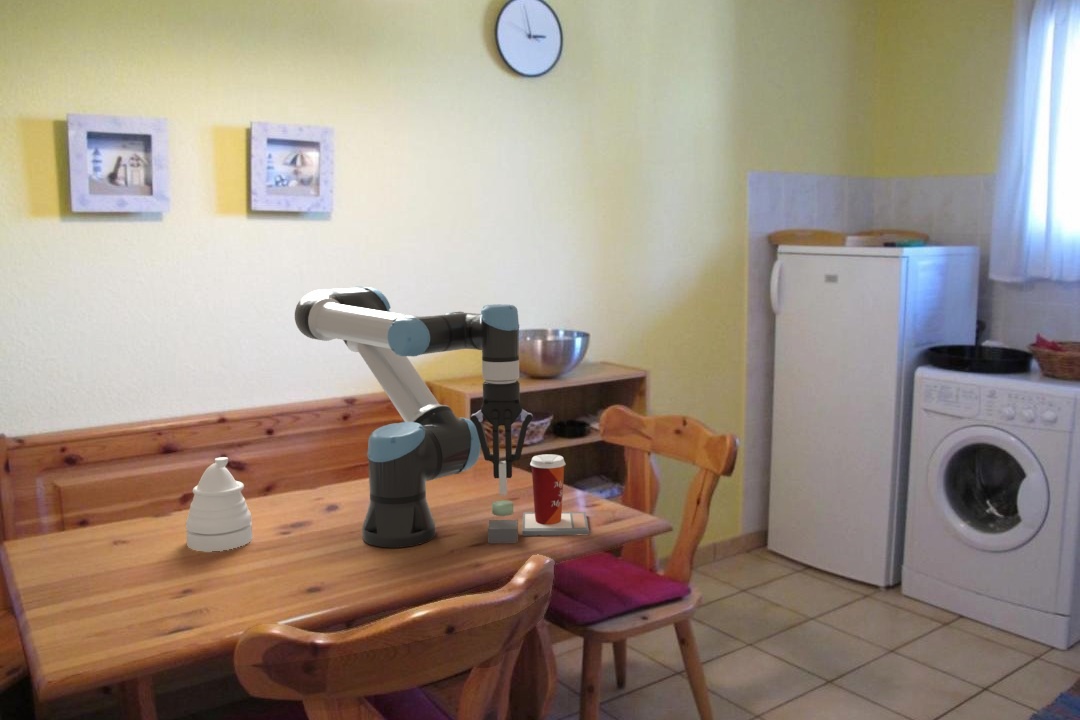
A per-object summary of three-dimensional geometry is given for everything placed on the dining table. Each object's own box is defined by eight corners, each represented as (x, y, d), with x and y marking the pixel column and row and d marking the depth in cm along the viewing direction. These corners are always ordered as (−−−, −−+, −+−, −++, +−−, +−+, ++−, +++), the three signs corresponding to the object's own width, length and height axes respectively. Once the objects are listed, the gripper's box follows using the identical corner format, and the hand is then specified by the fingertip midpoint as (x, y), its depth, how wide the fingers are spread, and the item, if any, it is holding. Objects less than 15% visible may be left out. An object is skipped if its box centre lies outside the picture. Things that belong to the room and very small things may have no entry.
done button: (491, 516, 186) (491, 506, 185) (492, 509, 190) (492, 500, 190) (513, 515, 186) (513, 506, 185) (513, 509, 190) (513, 500, 190)
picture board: (522, 535, 190) (522, 530, 190) (523, 516, 203) (523, 511, 203) (588, 534, 190) (588, 529, 190) (585, 516, 203) (585, 511, 203)
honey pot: (265, 538, 190) (261, 454, 187) (213, 556, 179) (208, 468, 177) (226, 528, 197) (221, 447, 194) (174, 544, 186) (168, 459, 184)
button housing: (488, 543, 185) (487, 529, 185) (489, 533, 191) (489, 520, 191) (517, 542, 186) (517, 528, 185) (517, 533, 191) (517, 519, 191)
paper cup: (566, 526, 193) (565, 462, 191) (530, 526, 193) (529, 462, 191) (565, 514, 200) (565, 453, 198) (531, 515, 200) (530, 453, 199)
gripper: (533, 377, 188) (534, 487, 191) (470, 378, 188) (472, 488, 191) (533, 383, 180) (534, 497, 183) (467, 384, 180) (470, 498, 183)
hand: (503, 493), depth 187 cm, fingers closed
